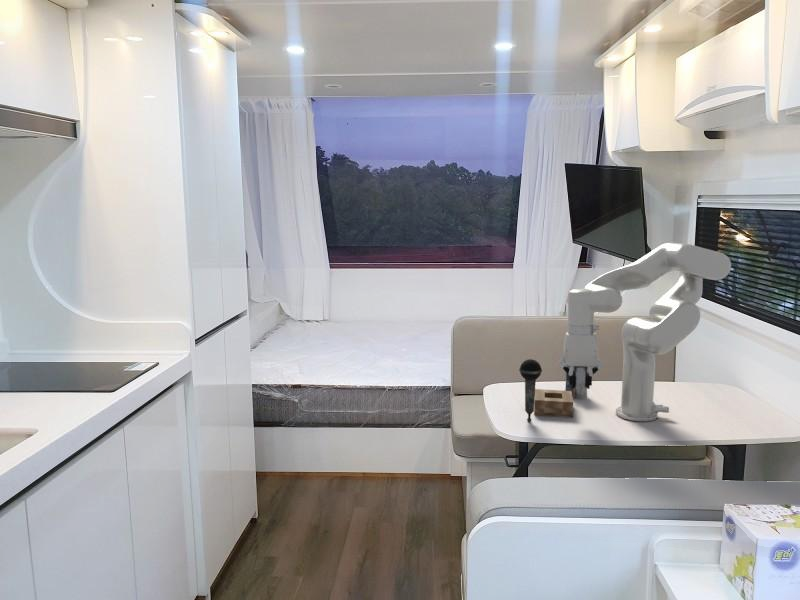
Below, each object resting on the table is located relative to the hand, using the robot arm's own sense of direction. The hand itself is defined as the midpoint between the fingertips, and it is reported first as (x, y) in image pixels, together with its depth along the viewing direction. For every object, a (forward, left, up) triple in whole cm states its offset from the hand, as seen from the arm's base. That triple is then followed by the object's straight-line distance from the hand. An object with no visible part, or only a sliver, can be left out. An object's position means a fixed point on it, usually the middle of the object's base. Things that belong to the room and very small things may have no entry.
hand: (580, 386), depth 196 cm
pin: (0, 0, -3) cm, 3 cm away
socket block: (+8, -10, -11) cm, 17 cm away
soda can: (0, -27, -11) cm, 29 cm away
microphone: (+15, +3, -11) cm, 19 cm away
